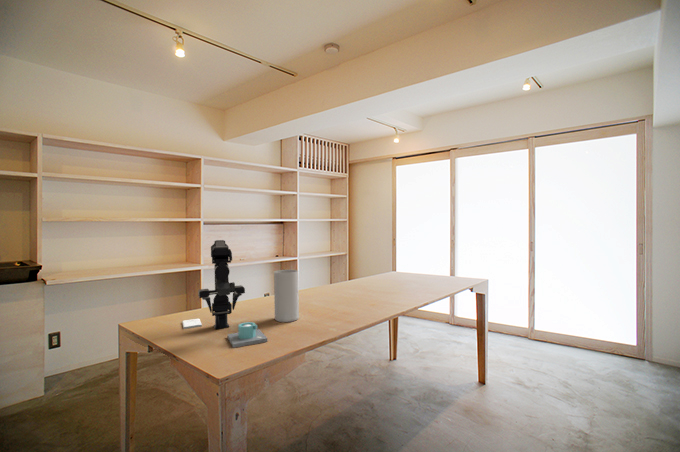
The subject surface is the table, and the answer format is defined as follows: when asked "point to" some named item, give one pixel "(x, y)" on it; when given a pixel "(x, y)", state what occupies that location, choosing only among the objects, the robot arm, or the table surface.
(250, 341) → the flat gray panel
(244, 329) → the mug with handle
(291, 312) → the cylinder vase
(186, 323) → the external hard drive
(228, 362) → the table surface
